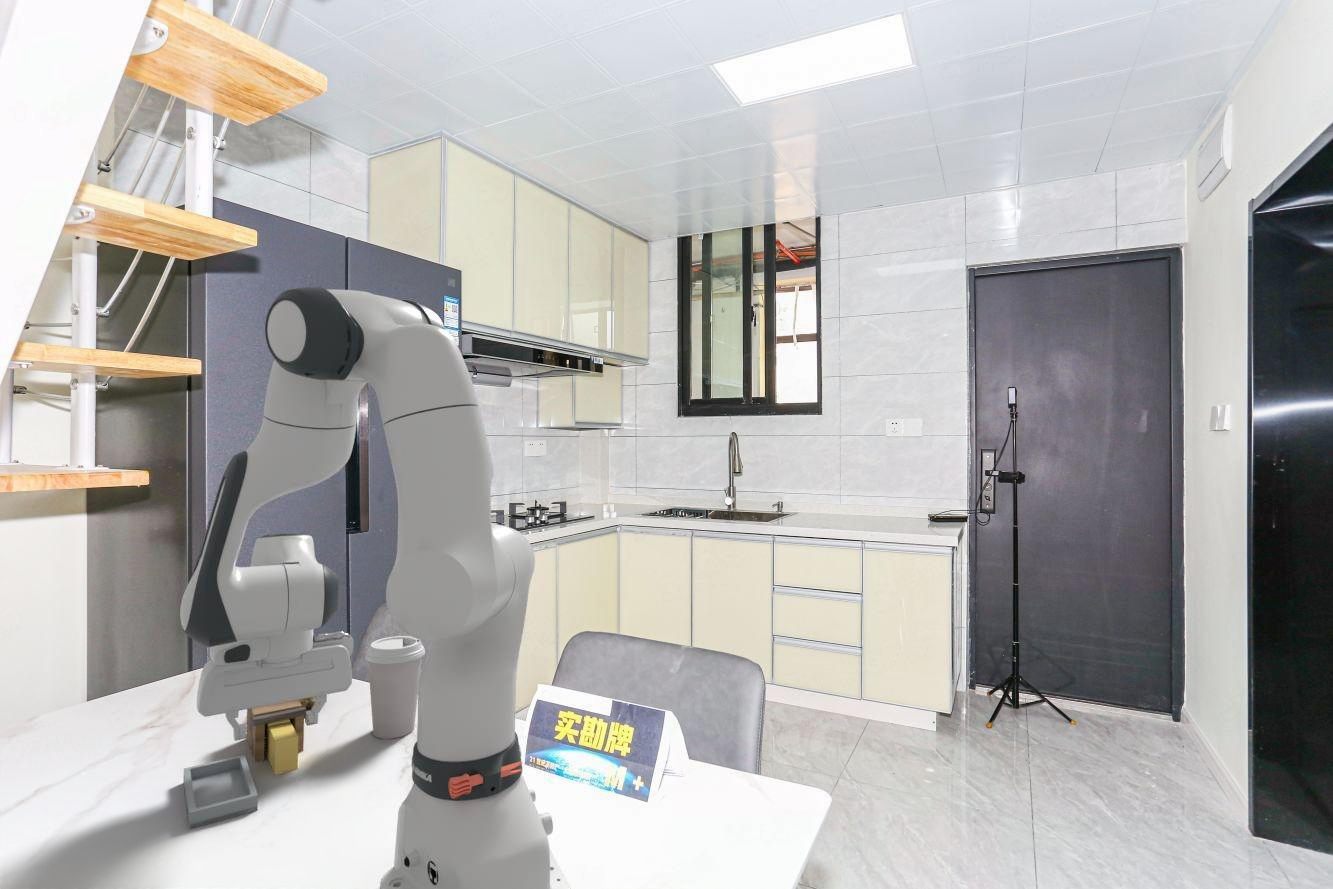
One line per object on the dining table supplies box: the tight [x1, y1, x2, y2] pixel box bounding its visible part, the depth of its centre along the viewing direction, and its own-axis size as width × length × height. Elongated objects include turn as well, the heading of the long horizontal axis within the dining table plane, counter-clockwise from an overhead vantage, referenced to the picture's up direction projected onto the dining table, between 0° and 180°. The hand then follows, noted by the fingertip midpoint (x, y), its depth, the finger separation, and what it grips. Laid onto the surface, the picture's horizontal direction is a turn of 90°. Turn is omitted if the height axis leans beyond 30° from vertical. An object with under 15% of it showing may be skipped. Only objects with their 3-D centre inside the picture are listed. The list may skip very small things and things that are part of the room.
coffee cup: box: [364, 635, 426, 740], centre depth 115 cm, size 10×10×15 cm
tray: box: [183, 754, 259, 830], centre depth 93 cm, size 14×7×2 cm, turn 38°
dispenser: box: [246, 700, 306, 763], centre depth 109 cm, size 10×7×6 cm
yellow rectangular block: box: [264, 719, 299, 775], centre depth 104 cm, size 10×3×5 cm, turn 38°
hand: (276, 730), depth 101 cm, fingers open, 8 cm apart
